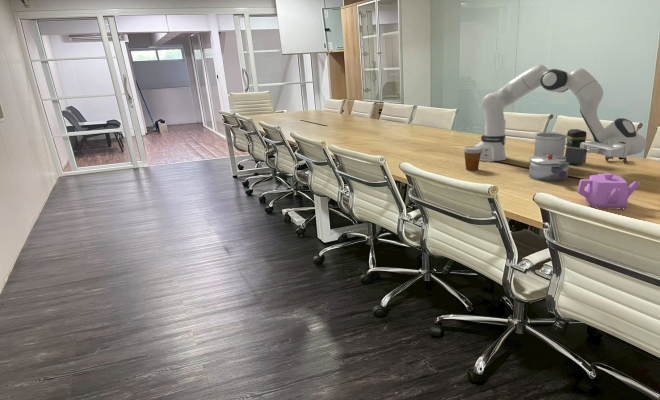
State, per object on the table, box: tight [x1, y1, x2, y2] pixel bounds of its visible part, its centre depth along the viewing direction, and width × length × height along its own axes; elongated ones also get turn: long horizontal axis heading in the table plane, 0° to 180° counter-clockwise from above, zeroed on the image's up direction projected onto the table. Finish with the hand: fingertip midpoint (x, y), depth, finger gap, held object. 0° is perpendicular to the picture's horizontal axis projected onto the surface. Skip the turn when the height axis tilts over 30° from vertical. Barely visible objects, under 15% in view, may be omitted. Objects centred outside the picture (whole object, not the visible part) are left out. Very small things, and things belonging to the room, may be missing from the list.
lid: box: [529, 147, 587, 165], centre depth 204 cm, size 25×18×8 cm
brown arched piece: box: [604, 155, 628, 165], centre depth 229 cm, size 12×10×8 cm
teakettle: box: [576, 172, 641, 210], centre depth 168 cm, size 17×17×12 cm
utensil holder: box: [533, 131, 567, 156], centre depth 226 cm, size 15×15×18 cm
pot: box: [528, 160, 570, 182], centre depth 206 cm, size 31×17×8 cm, turn 171°
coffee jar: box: [564, 128, 587, 166], centre depth 229 cm, size 10×8×19 cm
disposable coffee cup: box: [462, 145, 482, 172], centre depth 232 cm, size 10×10×12 cm
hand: (586, 150), depth 197 cm, fingers closed
